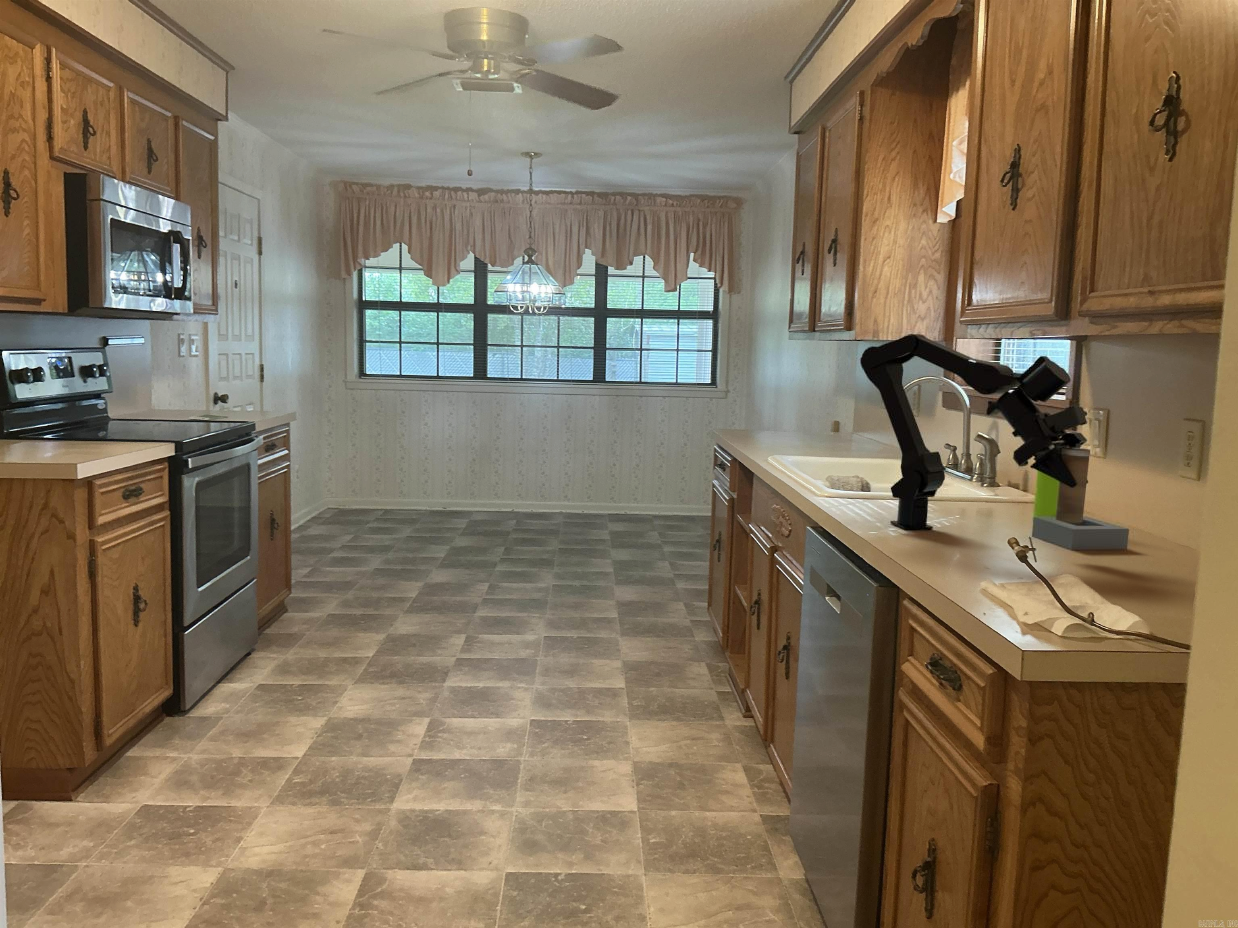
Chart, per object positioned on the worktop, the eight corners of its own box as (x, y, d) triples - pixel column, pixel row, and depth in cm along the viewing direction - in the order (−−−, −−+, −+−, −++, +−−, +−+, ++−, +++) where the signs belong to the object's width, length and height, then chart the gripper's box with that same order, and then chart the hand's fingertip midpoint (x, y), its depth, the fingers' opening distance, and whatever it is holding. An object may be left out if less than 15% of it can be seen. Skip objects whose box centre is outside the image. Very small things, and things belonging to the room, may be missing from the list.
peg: (1050, 517, 170) (1057, 447, 168) (1071, 517, 171) (1079, 447, 169) (1066, 522, 166) (1073, 450, 164) (1088, 522, 166) (1096, 450, 165)
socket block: (1031, 536, 187) (1033, 516, 186) (1084, 535, 189) (1086, 516, 188) (1071, 549, 175) (1073, 529, 174) (1126, 549, 177) (1129, 528, 177)
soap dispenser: (1038, 518, 207) (1047, 429, 204) (1067, 523, 201) (1077, 432, 199) (1022, 520, 204) (1031, 429, 201) (1051, 526, 198) (1061, 433, 196)
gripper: (1037, 390, 162) (1096, 461, 155) (1080, 389, 174) (1137, 454, 168) (989, 431, 169) (1044, 500, 162) (1035, 427, 181) (1087, 491, 174)
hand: (1080, 485), depth 166 cm, fingers closed on peg, 4 cm apart
